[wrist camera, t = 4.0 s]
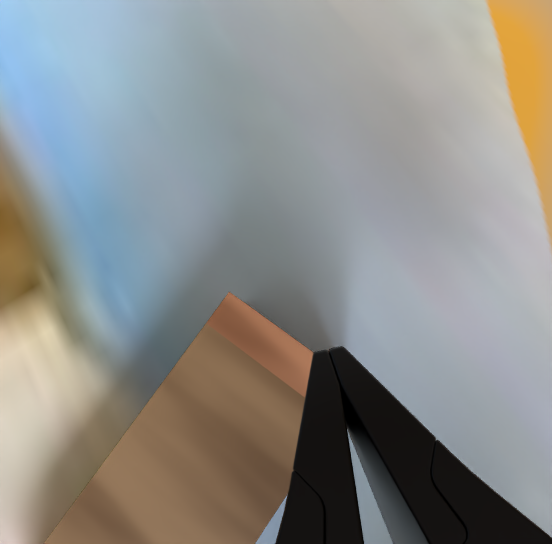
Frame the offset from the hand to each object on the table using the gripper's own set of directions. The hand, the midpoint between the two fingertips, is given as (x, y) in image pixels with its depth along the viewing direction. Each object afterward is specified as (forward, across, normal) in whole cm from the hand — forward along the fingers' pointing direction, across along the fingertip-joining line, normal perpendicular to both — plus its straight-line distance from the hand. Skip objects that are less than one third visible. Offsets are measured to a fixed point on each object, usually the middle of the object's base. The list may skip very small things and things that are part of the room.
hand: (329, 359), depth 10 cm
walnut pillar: (+4, +1, +3) cm, 6 cm away
